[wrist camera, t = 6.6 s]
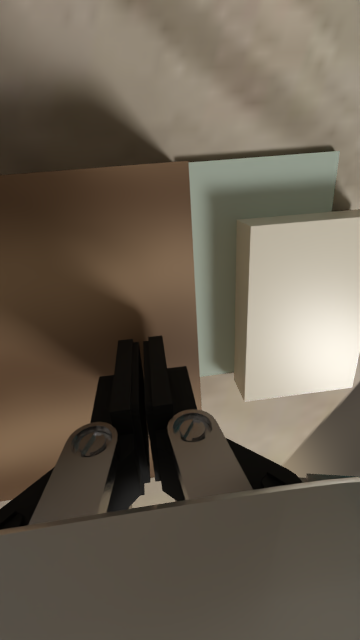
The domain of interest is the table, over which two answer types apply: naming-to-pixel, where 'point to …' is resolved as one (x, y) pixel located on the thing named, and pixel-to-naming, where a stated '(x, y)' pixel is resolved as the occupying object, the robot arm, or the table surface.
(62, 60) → the table surface
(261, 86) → the table surface
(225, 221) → the mat
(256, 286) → the cream rectangular block
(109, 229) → the flat brown wooden block
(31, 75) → the table surface
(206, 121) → the table surface
